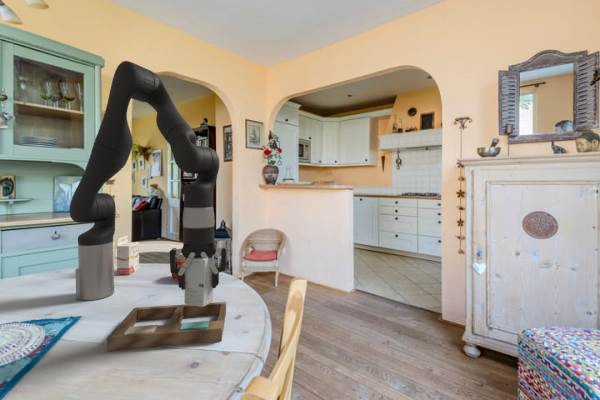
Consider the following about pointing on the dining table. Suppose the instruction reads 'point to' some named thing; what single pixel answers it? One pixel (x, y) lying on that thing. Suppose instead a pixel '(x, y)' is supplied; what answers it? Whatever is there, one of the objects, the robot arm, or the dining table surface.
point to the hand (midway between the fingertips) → (199, 287)
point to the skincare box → (199, 282)
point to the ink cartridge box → (127, 256)
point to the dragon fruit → (180, 264)
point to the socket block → (168, 327)
